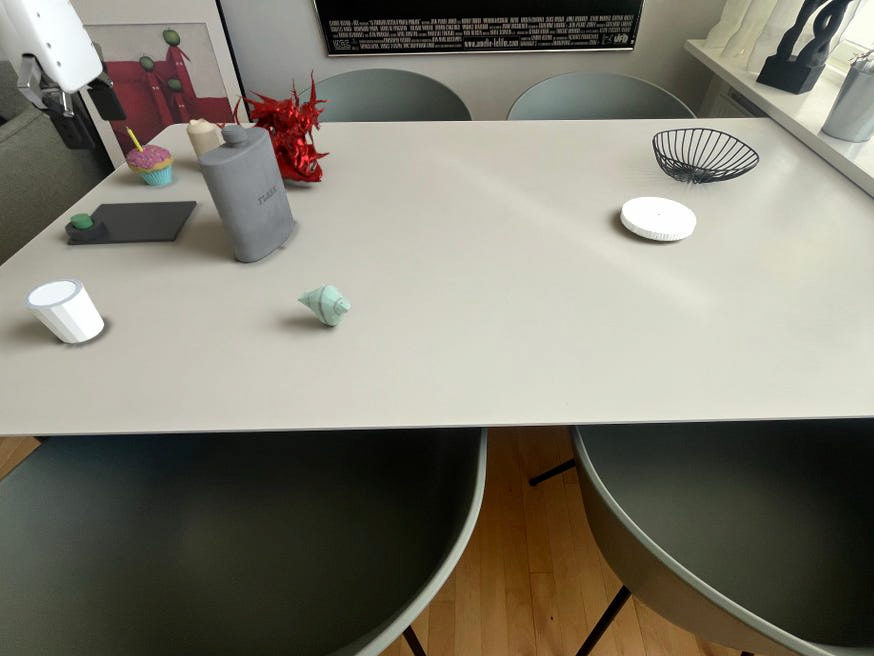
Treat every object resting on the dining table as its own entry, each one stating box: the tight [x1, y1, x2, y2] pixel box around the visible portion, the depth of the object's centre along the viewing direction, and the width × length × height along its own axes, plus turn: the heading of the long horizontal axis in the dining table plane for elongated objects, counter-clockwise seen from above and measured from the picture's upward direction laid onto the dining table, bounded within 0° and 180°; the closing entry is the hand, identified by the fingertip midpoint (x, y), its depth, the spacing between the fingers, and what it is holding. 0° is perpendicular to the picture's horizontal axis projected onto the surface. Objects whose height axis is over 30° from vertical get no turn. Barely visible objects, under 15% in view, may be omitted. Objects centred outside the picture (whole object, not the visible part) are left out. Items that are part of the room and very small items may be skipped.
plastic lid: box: [620, 196, 697, 242], centre depth 94 cm, size 14×14×2 cm
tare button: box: [69, 212, 93, 229], centre depth 86 cm, size 3×3×2 cm
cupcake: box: [125, 126, 174, 186], centre depth 99 cm, size 9×8×12 cm
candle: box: [185, 118, 222, 159], centre depth 105 cm, size 6×6×10 cm
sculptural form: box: [212, 69, 331, 183], centre depth 104 cm, size 20×25×22 cm
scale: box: [64, 200, 198, 246], centre depth 91 cm, size 18×14×2 cm
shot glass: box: [23, 277, 105, 344], centre depth 68 cm, size 7×7×7 cm
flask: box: [196, 124, 296, 263], centre depth 81 cm, size 15×6×20 cm, turn 165°
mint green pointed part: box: [296, 284, 351, 326], centre depth 71 cm, size 8×4×7 cm, turn 75°
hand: (99, 133), depth 64 cm, fingers open, 9 cm apart
